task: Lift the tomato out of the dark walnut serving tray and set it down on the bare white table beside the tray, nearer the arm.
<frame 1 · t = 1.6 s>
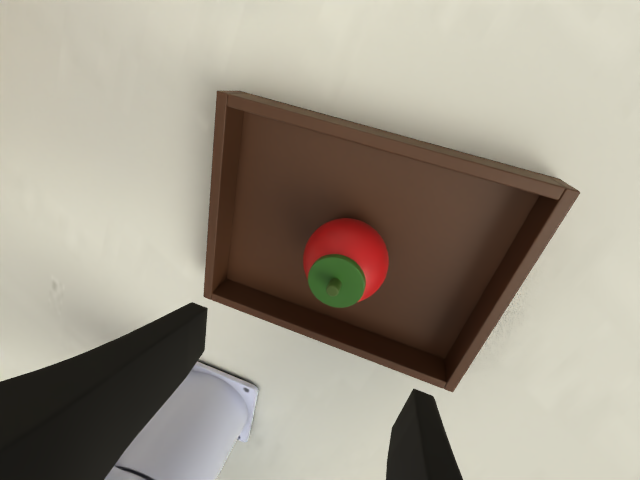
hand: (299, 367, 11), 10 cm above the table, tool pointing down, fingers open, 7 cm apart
tray: (354, 240, 20), on the table
tomato: (353, 242, 20), resting on tray
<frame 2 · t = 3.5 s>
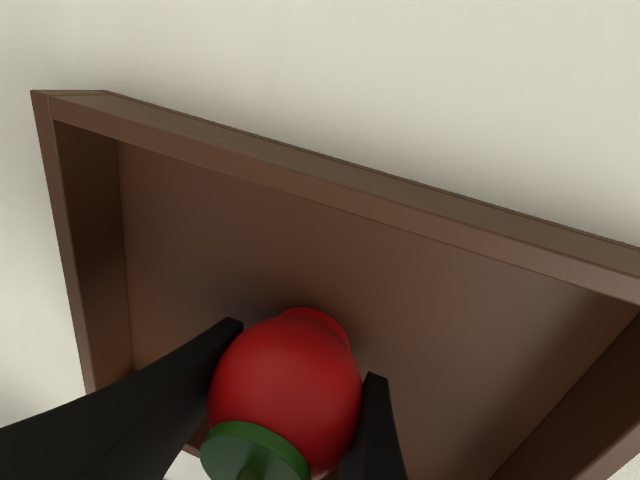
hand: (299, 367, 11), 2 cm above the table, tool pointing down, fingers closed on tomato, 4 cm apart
tray: (313, 335, 12), on the table
tomato: (310, 340, 12), resting on tray, touching gripper
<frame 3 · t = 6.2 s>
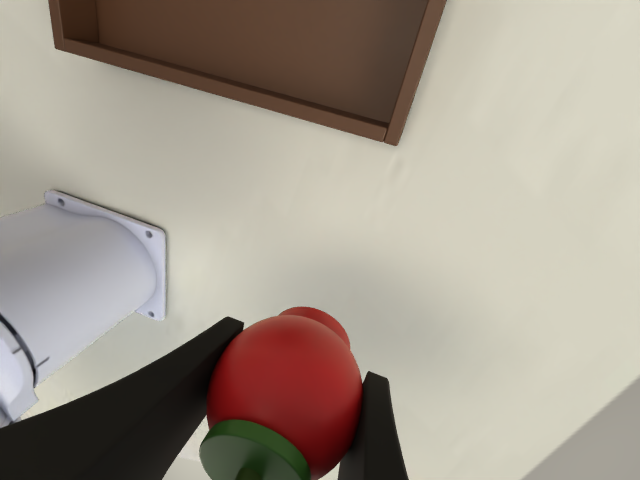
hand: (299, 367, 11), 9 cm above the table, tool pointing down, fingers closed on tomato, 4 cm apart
tomato: (310, 339, 12), point 8 cm above the table, touching gripper
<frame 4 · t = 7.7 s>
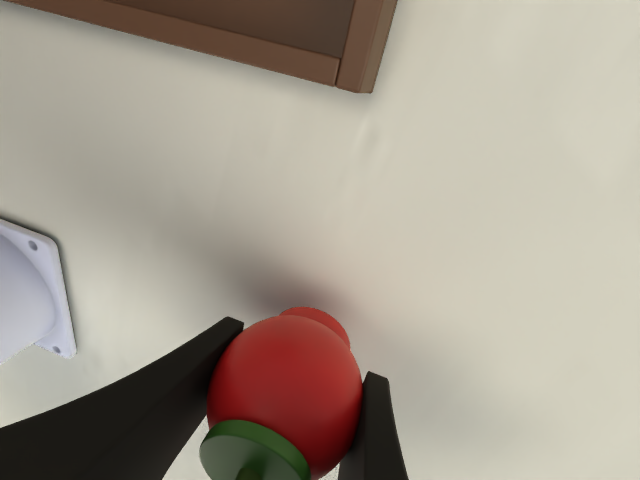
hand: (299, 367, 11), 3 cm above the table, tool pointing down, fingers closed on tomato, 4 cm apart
tomato: (310, 339, 12), point 1 cm above the table, touching gripper
when the fingers open (1 cm above the table, at t = 8.7 s): tomato stays where it is, on the table.
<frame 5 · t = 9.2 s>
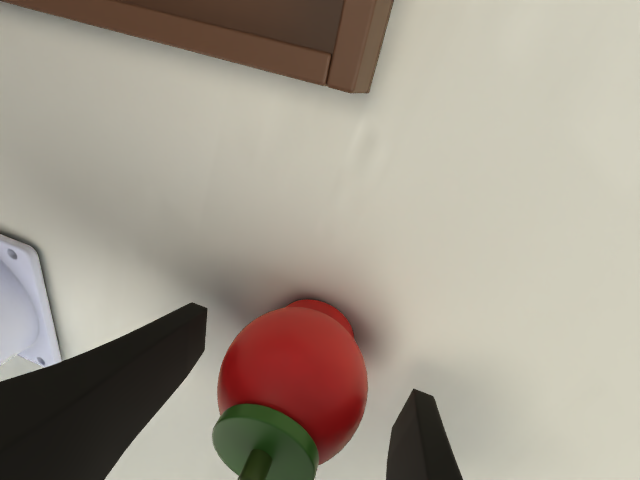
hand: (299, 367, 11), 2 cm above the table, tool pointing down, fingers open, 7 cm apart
tomato: (315, 331, 12), on the table
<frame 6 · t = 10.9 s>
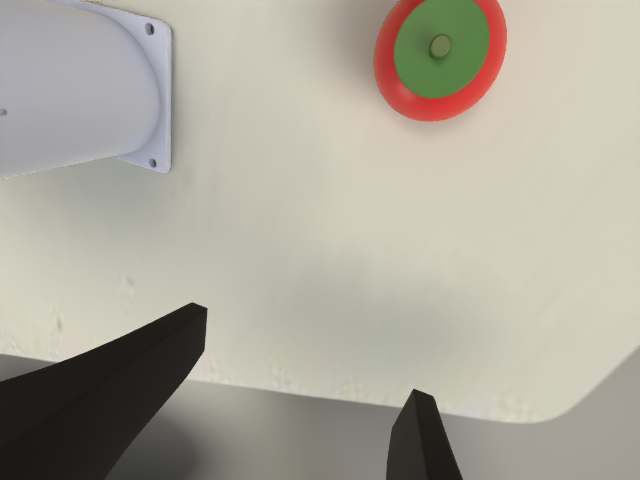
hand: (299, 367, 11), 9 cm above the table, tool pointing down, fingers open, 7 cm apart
tomato: (433, 61, 14), on the table
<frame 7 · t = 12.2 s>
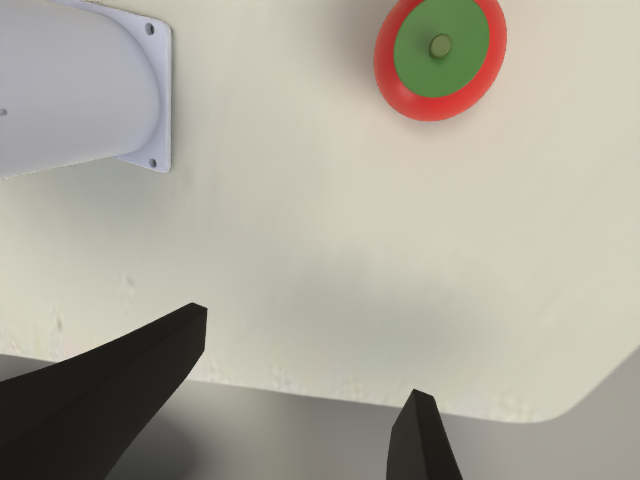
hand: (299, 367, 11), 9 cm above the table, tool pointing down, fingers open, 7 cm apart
tomato: (433, 61, 14), on the table
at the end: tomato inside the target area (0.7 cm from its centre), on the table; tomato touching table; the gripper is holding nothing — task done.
